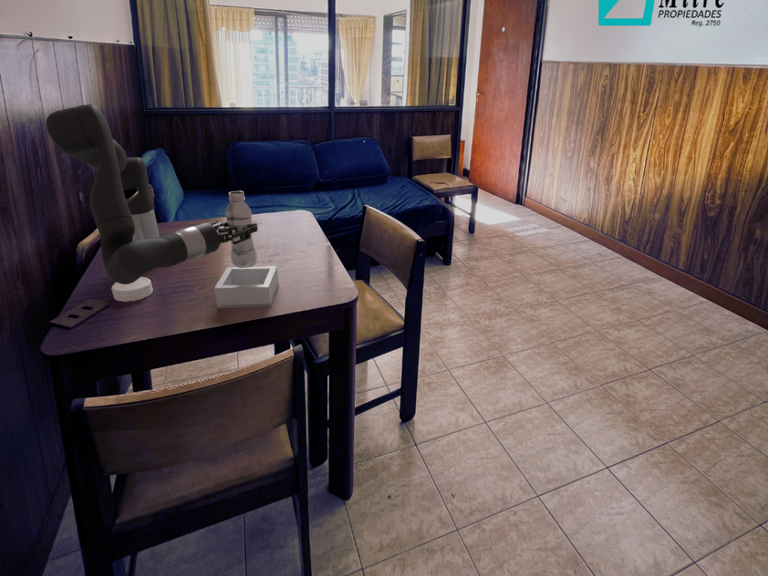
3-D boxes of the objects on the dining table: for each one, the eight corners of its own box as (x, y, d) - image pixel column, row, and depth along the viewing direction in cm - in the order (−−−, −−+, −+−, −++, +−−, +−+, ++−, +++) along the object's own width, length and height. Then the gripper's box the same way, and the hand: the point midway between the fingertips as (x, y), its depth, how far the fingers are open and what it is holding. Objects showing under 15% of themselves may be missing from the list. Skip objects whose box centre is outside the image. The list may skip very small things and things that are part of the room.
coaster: (157, 286, 141) (155, 275, 140) (146, 301, 132) (143, 290, 131) (121, 288, 140) (119, 277, 138) (108, 303, 131) (105, 292, 130)
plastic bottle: (251, 271, 127) (242, 196, 118) (227, 269, 128) (217, 195, 120) (261, 262, 133) (254, 190, 124) (239, 260, 134) (230, 189, 125)
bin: (217, 308, 128) (214, 288, 125) (230, 286, 141) (227, 267, 138) (270, 307, 129) (268, 287, 126) (278, 285, 141) (276, 266, 139)
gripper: (212, 232, 110) (265, 214, 123) (172, 222, 117) (226, 206, 130) (216, 262, 113) (268, 242, 126) (177, 251, 120) (230, 233, 133)
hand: (246, 224), depth 128 cm, fingers closed on plastic bottle, 6 cm apart
